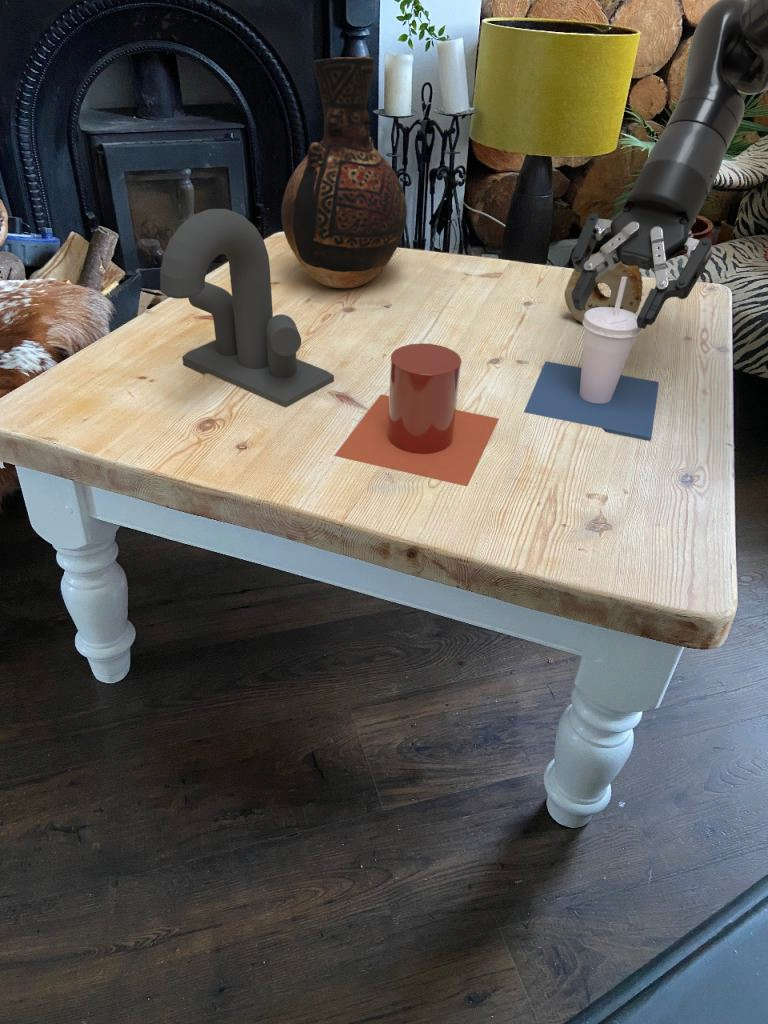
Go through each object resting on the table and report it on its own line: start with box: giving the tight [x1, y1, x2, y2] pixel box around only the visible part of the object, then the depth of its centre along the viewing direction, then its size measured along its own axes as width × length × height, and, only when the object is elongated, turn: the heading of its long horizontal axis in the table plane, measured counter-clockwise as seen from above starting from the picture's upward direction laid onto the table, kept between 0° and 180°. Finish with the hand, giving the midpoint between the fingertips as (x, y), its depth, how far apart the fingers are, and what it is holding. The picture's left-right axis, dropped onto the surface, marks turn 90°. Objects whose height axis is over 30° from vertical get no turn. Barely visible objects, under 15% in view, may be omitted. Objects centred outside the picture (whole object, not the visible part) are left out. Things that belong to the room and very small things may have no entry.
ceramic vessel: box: [280, 56, 408, 289], centre depth 107 cm, size 21×18×30 cm
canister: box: [388, 343, 462, 454], centre depth 76 cm, size 7×7×9 cm
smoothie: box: [579, 277, 643, 404], centre depth 83 cm, size 6×6×14 cm
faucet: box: [159, 208, 335, 409], centre depth 81 cm, size 18×16×20 cm
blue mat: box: [523, 360, 660, 441], centre depth 88 cm, size 14×14×1 cm
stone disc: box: [564, 252, 644, 324], centre depth 102 cm, size 10×4×10 cm, turn 54°
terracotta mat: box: [333, 393, 500, 487], centre depth 79 cm, size 14×14×1 cm
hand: (608, 315), depth 80 cm, fingers open, 6 cm apart
